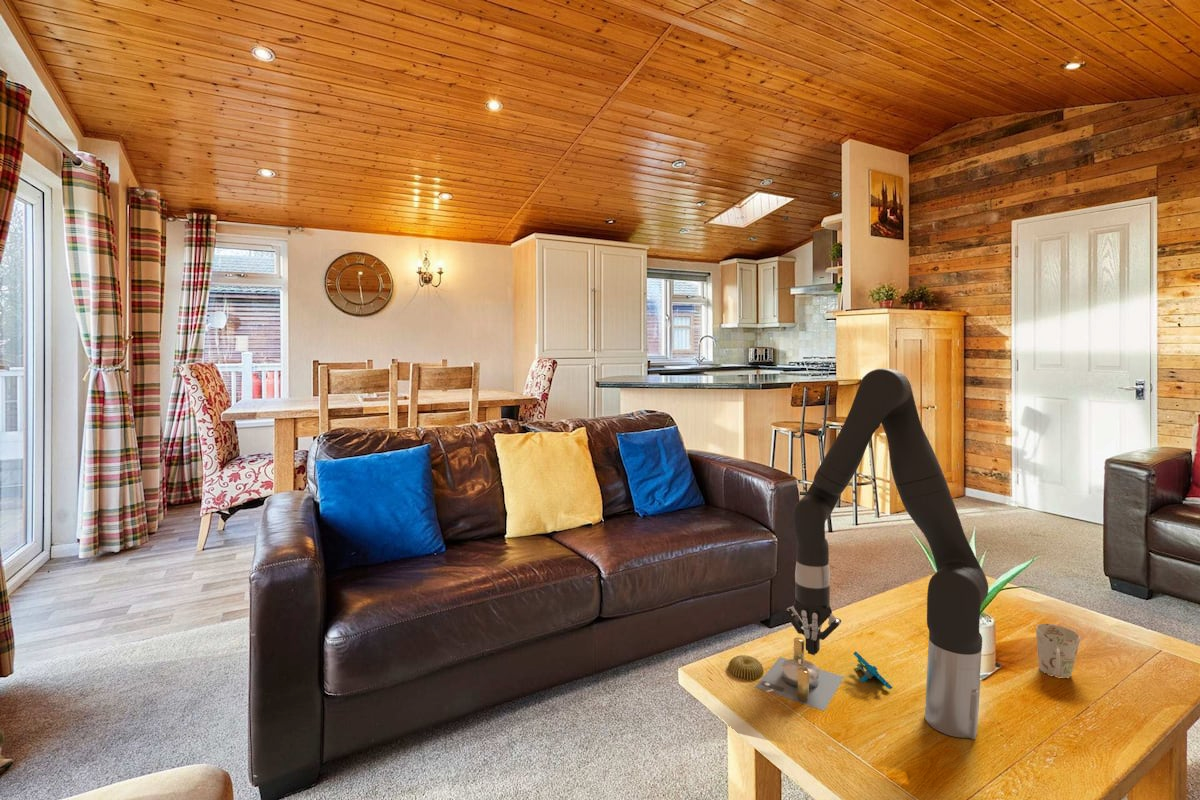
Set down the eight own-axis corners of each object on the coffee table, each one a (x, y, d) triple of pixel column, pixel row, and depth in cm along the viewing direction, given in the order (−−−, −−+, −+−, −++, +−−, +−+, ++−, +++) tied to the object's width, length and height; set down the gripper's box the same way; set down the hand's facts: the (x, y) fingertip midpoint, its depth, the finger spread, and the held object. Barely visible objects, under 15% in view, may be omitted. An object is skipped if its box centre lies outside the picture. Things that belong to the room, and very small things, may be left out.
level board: (845, 680, 139) (845, 673, 139) (823, 718, 125) (823, 711, 125) (781, 660, 148) (781, 654, 148) (754, 694, 134) (754, 687, 134)
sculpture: (770, 661, 140) (750, 674, 135) (770, 677, 141) (750, 691, 135) (741, 648, 146) (721, 660, 141) (741, 664, 146) (721, 676, 141)
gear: (902, 693, 131) (868, 659, 132) (883, 712, 131) (849, 678, 132) (880, 672, 142) (849, 641, 143) (862, 690, 142) (832, 659, 143)
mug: (1074, 669, 144) (1077, 629, 143) (1082, 695, 134) (1085, 651, 133) (1032, 659, 149) (1034, 620, 148) (1036, 683, 138) (1039, 641, 137)
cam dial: (823, 703, 127) (824, 676, 127) (783, 697, 129) (784, 671, 129) (815, 663, 143) (816, 639, 142) (780, 659, 145) (781, 635, 144)
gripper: (847, 581, 138) (846, 655, 139) (790, 570, 146) (790, 639, 147) (836, 592, 132) (836, 668, 133) (778, 579, 140) (778, 651, 142)
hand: (812, 653), depth 140 cm, fingers closed
